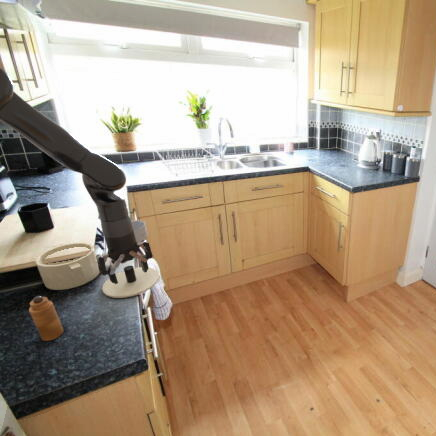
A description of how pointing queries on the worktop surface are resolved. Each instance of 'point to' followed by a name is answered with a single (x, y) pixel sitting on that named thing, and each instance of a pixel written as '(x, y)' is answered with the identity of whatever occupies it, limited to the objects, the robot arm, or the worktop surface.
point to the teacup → (140, 230)
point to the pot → (68, 268)
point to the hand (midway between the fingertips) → (130, 276)
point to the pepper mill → (45, 318)
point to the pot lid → (131, 282)
